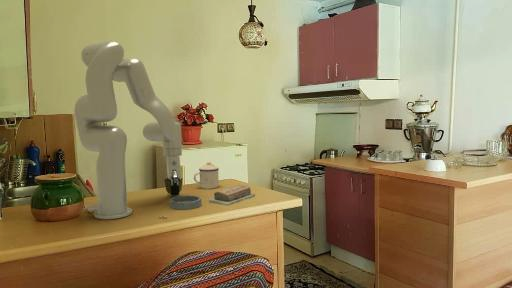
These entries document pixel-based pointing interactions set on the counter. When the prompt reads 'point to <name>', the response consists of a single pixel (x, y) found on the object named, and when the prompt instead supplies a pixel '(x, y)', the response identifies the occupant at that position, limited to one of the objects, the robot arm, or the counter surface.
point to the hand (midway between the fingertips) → (174, 192)
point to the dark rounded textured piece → (168, 186)
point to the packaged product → (231, 195)
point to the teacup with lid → (208, 176)
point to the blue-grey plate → (185, 202)
